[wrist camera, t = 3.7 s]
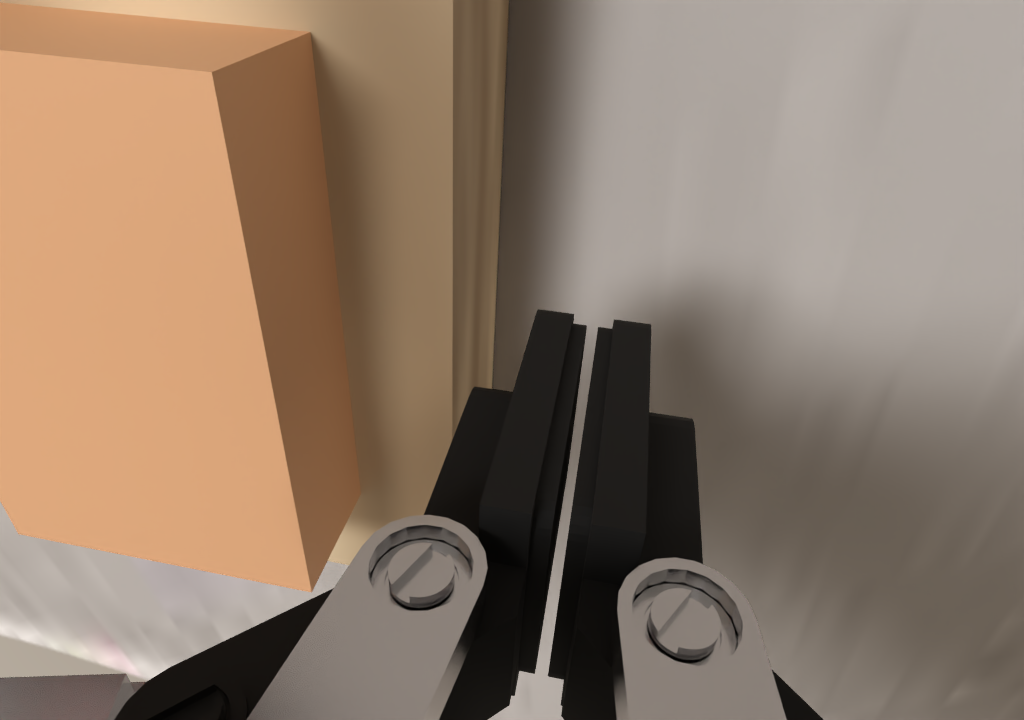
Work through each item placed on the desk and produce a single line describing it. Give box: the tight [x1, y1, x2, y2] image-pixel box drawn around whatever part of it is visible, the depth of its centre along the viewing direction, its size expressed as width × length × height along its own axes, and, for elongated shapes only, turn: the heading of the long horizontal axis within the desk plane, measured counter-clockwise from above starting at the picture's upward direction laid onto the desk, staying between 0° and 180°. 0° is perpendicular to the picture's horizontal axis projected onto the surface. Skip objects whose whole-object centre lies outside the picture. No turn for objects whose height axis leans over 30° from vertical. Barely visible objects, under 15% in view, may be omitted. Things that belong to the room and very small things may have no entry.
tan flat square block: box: [0, 0, 509, 565], centre depth 14 cm, size 14×14×4 cm
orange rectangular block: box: [0, 3, 361, 592], centre depth 11 cm, size 6×9×2 cm, turn 177°
